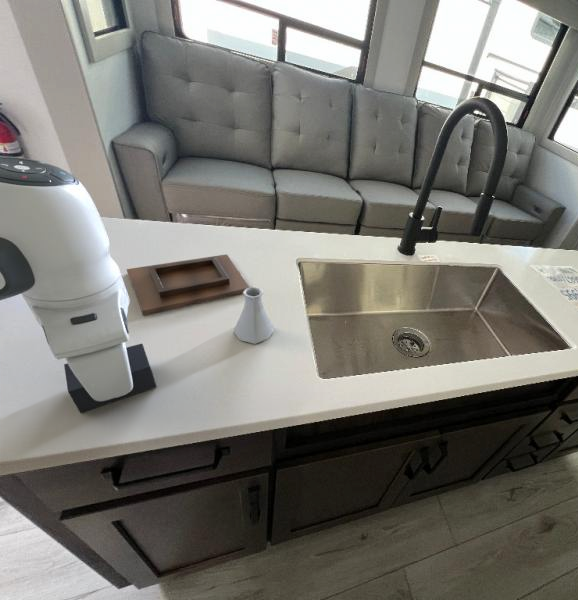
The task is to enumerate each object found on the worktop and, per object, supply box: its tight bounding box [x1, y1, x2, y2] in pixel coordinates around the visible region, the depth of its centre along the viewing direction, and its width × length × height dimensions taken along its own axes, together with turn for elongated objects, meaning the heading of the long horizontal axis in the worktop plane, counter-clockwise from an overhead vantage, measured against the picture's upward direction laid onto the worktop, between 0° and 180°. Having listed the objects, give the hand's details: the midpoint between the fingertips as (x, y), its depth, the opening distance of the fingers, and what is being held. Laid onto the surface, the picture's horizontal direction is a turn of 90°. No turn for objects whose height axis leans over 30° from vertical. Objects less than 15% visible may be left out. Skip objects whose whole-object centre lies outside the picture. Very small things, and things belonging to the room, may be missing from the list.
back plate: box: [126, 253, 251, 316], centre depth 72 cm, size 20×15×3 cm
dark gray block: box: [63, 343, 158, 414], centre depth 49 cm, size 9×6×5 cm, turn 130°
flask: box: [232, 286, 276, 345], centre depth 63 cm, size 7×7×10 cm
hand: (114, 369), depth 49 cm, fingers open, 8 cm apart
